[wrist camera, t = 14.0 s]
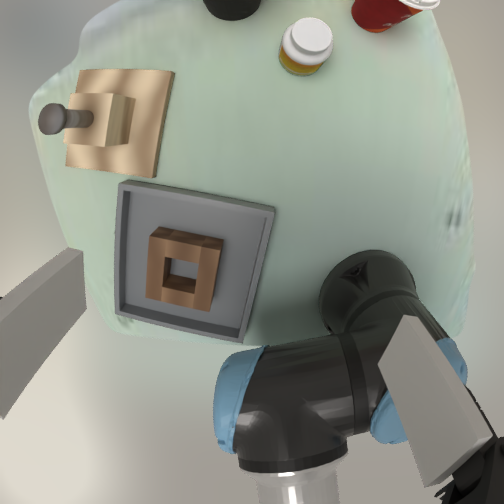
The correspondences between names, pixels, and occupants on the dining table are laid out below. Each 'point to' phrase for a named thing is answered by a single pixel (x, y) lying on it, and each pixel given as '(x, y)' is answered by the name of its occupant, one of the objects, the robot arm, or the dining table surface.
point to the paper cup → (387, 12)
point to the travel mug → (232, 8)
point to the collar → (187, 249)
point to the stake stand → (113, 120)
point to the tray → (194, 221)
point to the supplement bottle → (305, 46)
